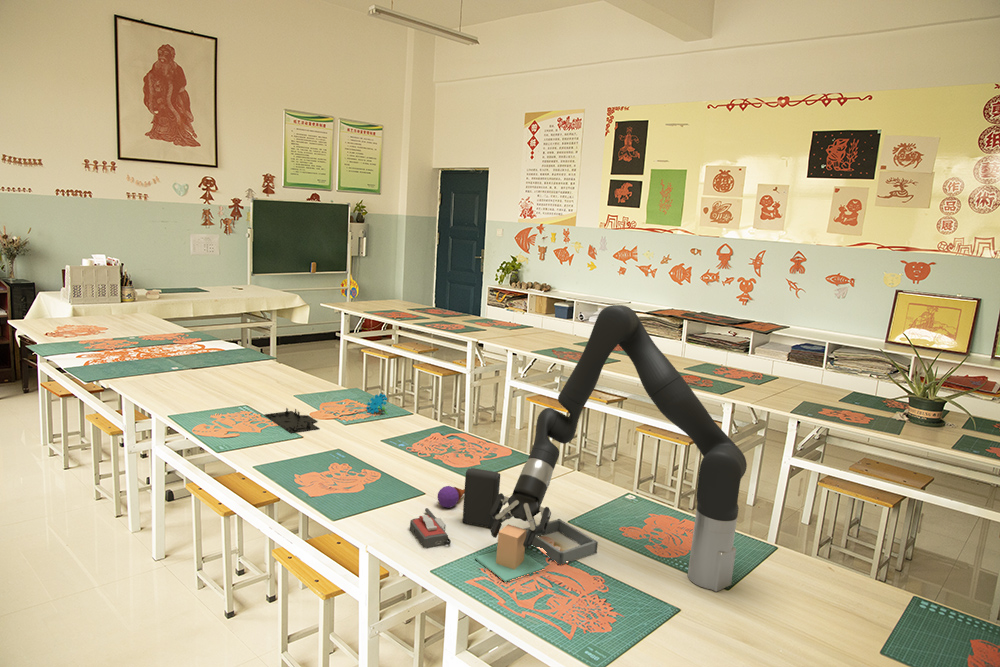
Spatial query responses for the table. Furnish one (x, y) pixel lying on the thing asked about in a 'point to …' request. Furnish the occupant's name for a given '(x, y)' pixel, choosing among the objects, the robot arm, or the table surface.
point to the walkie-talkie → (429, 530)
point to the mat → (508, 573)
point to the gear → (377, 404)
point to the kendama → (449, 496)
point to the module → (511, 546)
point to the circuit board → (293, 421)
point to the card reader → (480, 496)
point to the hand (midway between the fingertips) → (509, 541)
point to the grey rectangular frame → (586, 542)
